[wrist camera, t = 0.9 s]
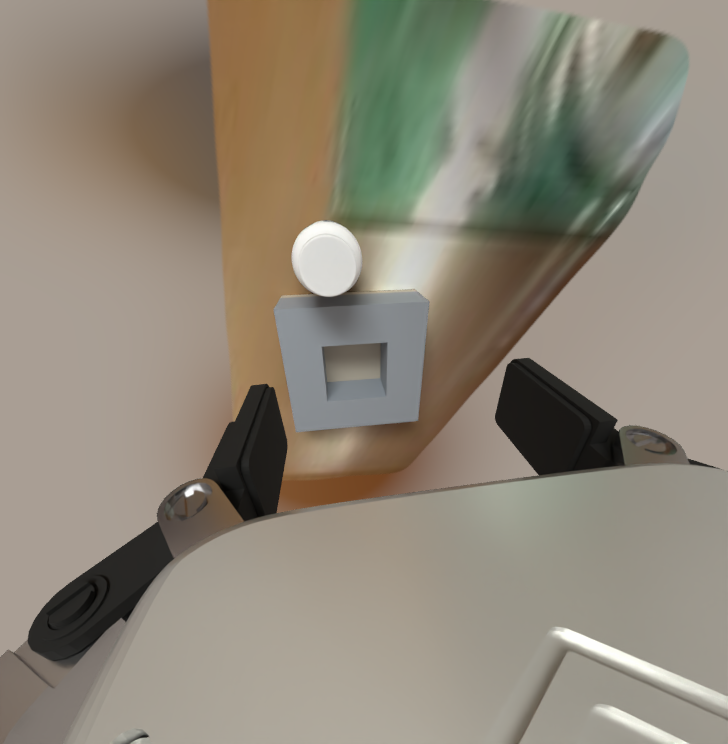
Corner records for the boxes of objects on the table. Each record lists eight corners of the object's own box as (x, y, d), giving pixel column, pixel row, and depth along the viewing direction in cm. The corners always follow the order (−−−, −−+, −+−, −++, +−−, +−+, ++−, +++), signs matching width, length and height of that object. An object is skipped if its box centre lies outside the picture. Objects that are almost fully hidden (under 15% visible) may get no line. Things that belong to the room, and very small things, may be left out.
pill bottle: (309, 286, 28) (302, 316, 20) (290, 229, 26) (272, 235, 17) (360, 272, 28) (375, 295, 20) (346, 213, 26) (355, 211, 17)
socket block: (281, 295, 29) (273, 309, 24) (414, 289, 30) (429, 301, 26) (299, 405, 35) (296, 432, 31) (407, 396, 37) (417, 420, 32)
